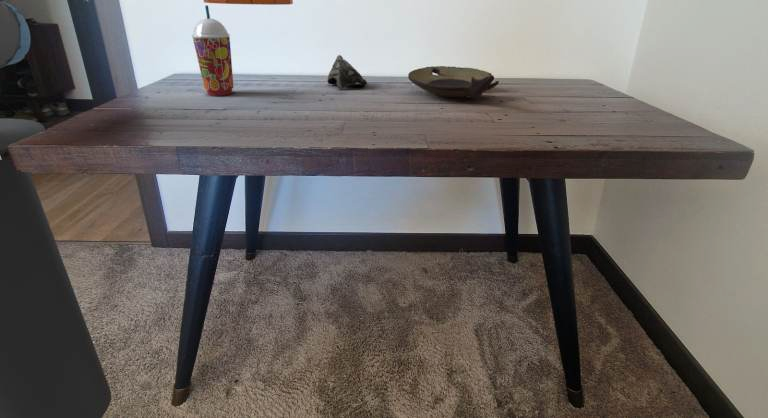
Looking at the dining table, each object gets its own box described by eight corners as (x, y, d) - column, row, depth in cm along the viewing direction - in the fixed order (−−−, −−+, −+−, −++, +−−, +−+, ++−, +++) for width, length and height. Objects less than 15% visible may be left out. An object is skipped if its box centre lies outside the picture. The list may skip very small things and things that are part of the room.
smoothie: (195, 93, 108) (179, 5, 100) (225, 89, 114) (213, 5, 105) (214, 98, 104) (199, 6, 95) (244, 93, 109) (232, 5, 101)
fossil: (376, 85, 118) (362, 51, 112) (351, 104, 116) (335, 71, 110) (355, 77, 126) (340, 46, 120) (331, 96, 124) (315, 65, 117)
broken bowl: (487, 86, 122) (490, 57, 119) (509, 112, 96) (514, 76, 92) (407, 84, 123) (408, 55, 120) (407, 109, 97) (408, 73, 93)
